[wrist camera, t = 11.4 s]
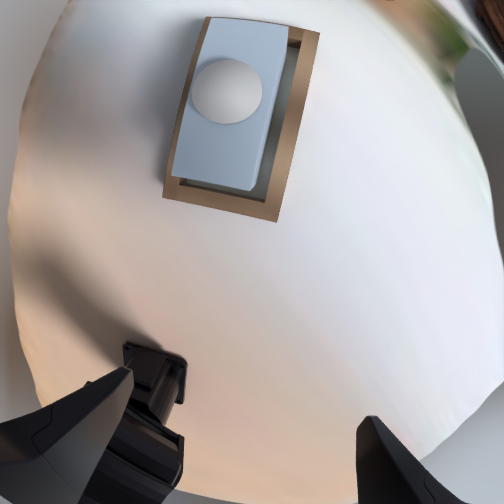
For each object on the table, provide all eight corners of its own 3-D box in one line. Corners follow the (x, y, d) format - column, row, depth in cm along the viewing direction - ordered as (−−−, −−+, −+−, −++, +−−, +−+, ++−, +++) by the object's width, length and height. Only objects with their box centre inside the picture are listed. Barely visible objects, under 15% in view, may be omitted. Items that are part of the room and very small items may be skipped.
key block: (285, 59, 15) (289, 19, 9) (256, 183, 18) (247, 192, 12) (227, 50, 15) (208, 10, 9) (198, 171, 18) (164, 176, 12)
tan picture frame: (276, 217, 18) (276, 222, 17) (171, 194, 19) (162, 197, 17) (316, 43, 14) (319, 32, 13) (211, 27, 14) (206, 16, 13)
